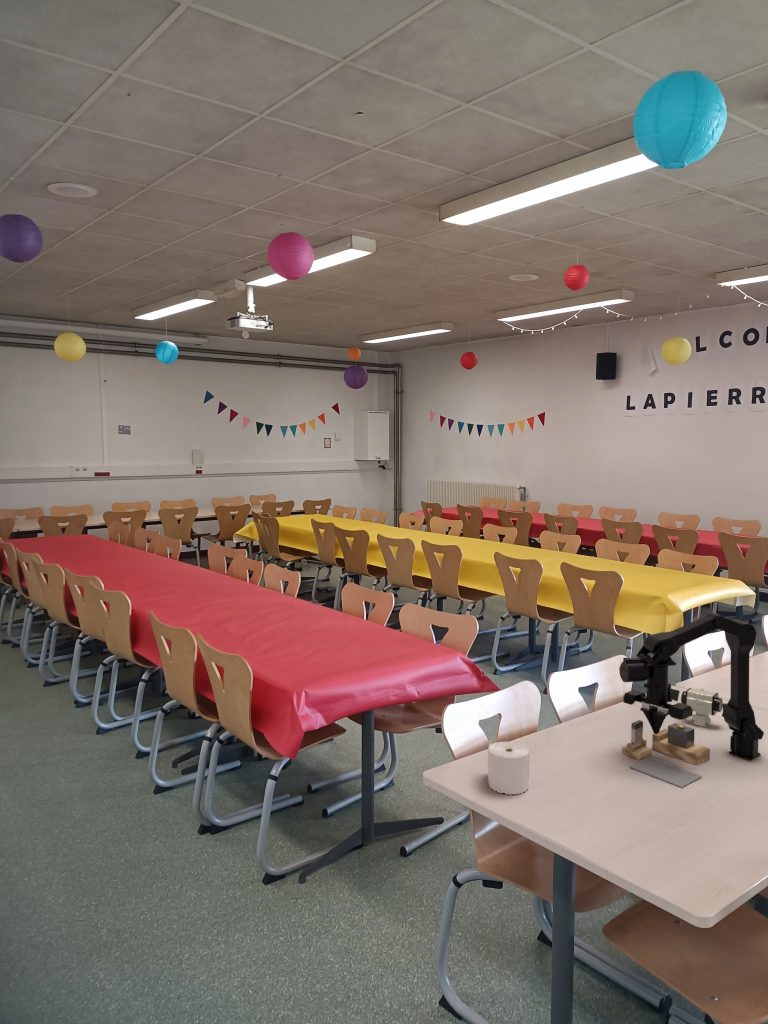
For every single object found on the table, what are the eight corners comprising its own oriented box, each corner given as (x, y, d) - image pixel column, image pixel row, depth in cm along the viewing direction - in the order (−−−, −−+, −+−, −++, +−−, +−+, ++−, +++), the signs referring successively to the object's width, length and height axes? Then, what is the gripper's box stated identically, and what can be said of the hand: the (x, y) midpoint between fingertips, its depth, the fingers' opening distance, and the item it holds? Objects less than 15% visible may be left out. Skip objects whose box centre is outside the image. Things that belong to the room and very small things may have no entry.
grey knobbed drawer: (694, 745, 210) (694, 726, 209) (686, 748, 207) (687, 730, 207) (674, 739, 215) (675, 720, 214) (667, 742, 212) (668, 723, 212)
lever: (642, 746, 212) (643, 721, 211) (634, 749, 210) (635, 724, 209) (638, 744, 213) (639, 720, 212) (630, 748, 211) (631, 723, 210)
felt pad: (701, 777, 196) (701, 776, 196) (682, 788, 190) (682, 786, 190) (648, 758, 208) (648, 756, 208) (628, 767, 202) (628, 766, 202)
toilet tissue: (521, 798, 184) (521, 761, 184) (477, 788, 190) (477, 751, 189) (534, 782, 194) (534, 746, 193) (492, 772, 200) (492, 737, 199)
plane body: (709, 758, 208) (710, 743, 208) (696, 765, 204) (697, 749, 203) (665, 743, 219) (665, 728, 219) (652, 749, 215) (652, 734, 214)
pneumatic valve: (684, 718, 239) (685, 683, 238) (722, 726, 232) (723, 690, 231) (679, 723, 235) (680, 687, 234) (717, 732, 228) (718, 695, 227)
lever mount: (652, 754, 211) (652, 742, 211) (639, 760, 207) (639, 748, 207) (634, 747, 216) (634, 735, 216) (620, 753, 212) (621, 741, 212)
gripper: (703, 682, 202) (702, 736, 204) (644, 667, 217) (643, 717, 218) (682, 690, 196) (680, 746, 197) (622, 674, 210) (621, 726, 212)
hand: (656, 733), depth 206 cm, fingers closed
